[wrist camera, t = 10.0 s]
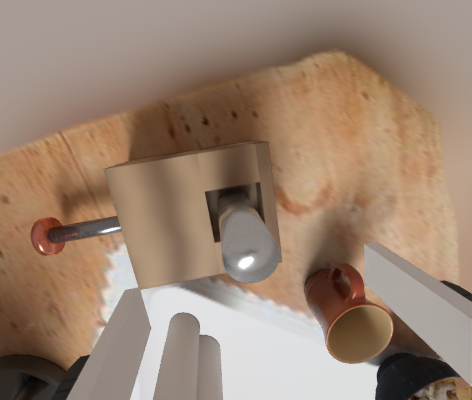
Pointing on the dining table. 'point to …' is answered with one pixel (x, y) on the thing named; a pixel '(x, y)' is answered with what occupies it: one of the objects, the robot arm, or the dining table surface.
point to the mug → (348, 314)
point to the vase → (189, 363)
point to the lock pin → (68, 232)
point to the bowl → (419, 380)
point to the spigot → (245, 239)
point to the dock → (187, 208)
